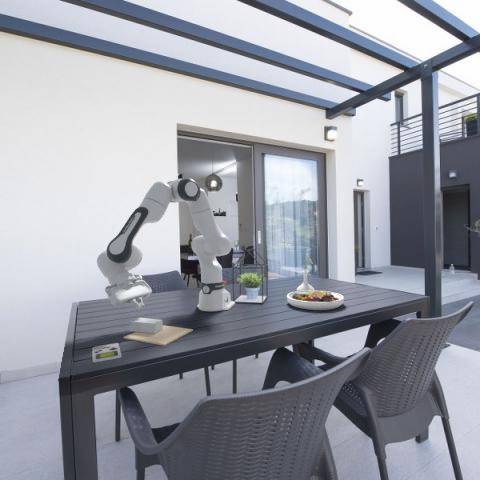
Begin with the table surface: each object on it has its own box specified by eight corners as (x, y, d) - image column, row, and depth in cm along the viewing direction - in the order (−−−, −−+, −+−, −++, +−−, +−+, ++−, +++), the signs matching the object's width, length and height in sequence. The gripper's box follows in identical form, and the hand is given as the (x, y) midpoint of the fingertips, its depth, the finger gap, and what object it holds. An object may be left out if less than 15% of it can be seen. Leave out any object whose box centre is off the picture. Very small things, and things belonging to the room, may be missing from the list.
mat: (154, 325, 139) (154, 323, 139) (192, 330, 130) (192, 329, 130) (123, 338, 123) (123, 337, 123) (164, 345, 114) (164, 344, 114)
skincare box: (129, 331, 129) (154, 334, 125) (129, 321, 129) (154, 323, 125) (139, 327, 135) (163, 329, 131) (138, 317, 135) (162, 319, 131)
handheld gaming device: (118, 342, 118) (122, 356, 104) (118, 344, 118) (122, 358, 104) (92, 346, 114) (92, 361, 100) (92, 348, 114) (92, 364, 100)
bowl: (277, 301, 181) (277, 287, 181) (323, 296, 190) (323, 284, 190) (304, 314, 152) (304, 298, 152) (355, 308, 162) (355, 293, 161)
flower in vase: (310, 294, 195) (310, 254, 194) (293, 293, 201) (293, 254, 200) (317, 291, 206) (317, 253, 205) (301, 289, 212) (301, 252, 211)
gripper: (106, 281, 123) (126, 308, 119) (143, 274, 142) (161, 297, 138) (99, 292, 125) (118, 319, 121) (136, 283, 144) (153, 307, 140)
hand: (141, 307), depth 130 cm, fingers closed
